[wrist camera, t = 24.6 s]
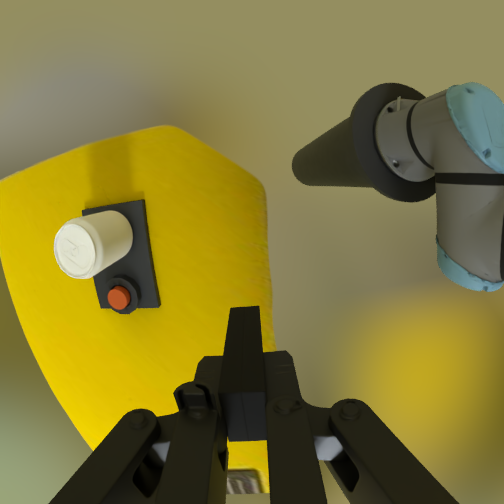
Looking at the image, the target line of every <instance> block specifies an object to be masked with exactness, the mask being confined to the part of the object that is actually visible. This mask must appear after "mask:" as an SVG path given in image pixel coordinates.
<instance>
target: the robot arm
mask: <svg viewBox="0 0 504 504" xmlns="http://www.w3.org/2000/svg"><path fill="white" fill-rule="evenodd" d="M400 98H401V96H399V97H398V99H397V100H394V101H392V102H390V103H388V104H386V105H385V106H383V107H382V108H381V109H380V110H379V112H378V113H377V115H376V117H375V120H374V124H373V141H374V146H375V149H376V152H377V154H378V156H379V158H380V160H381V162H382V163H383V164H384V166H385V167H386V168H387V169H388V170H389V171H390V172H391V173H392V174H393V175H395V176H396V177H398V178H400V179H402V180H405V181H411V182H420V181H425V180H427V179H429V178H431V177H432V176H434V175H435V185H436V200H437V201H436V203H437V235H436V243H437V261H438V265H439V267H440V268H441V270H442V272H443V274H445V275H446V277H448V278H449V279H450V280H452V281H453V282H455V283H457V284H458V285H461V286H463V287H465V288H468V289H471V290H476V291H481V290H482V289H483V290H485V291H487V292H490V291H495V290H497V289H499V288H500V287H501V286H502V285H503V283H504V104H503V103H502V101H501V100H500V98H499V97H498V96H497V95H496V94H495V93H494V92H493V91H492V90H490V89H489V88H487V87H485V86H484V85H482V84H479V83H474V82H471V83H465V84H462V85H453V86H451V87H449V88H448V89H446V90H444V91H441V92H439V93H436V94H434V95H432V96H429V97H427V98H425V99H423V100H420V101H418V100H409V99H400ZM173 394H174V397H175V400H176V403H177V406H178V408H179V412H176V413H174V414H170V415H165V416H159V417H156V415H155V414H154V413H153V412H152V411H150V410H148V409H134V410H132V411H130V412H128V413H126V414H125V415H124V416H123V417H122V418H121V419H120V421H119V422H118V423H117V424H116V425H115V427H114V428H113V429H112V430H111V431H110V432H109V434H108V435H107V436H106V437H105V438H104V440H103V441H102V442H101V443H100V444H99V445H98V447H97V448H96V449H95V450H94V451H93V452H92V454H91V455H90V456H89V457H88V458H87V460H86V461H85V462H84V463H83V464H82V465H81V467H80V468H79V469H78V470H77V471H76V472H75V474H74V475H73V476H72V477H71V478H70V479H69V481H68V482H67V483H66V484H65V485H64V486H63V488H62V489H61V490H60V491H59V492H58V493H57V495H56V496H55V497H54V498H53V499H52V500H51V501H50V503H49V504H225V503H226V487H227V471H228V455H229V452H228V447H227V436H228V440H229V442H235V441H260V440H267V451H268V468H269V486H270V504H327V499H326V494H325V489H324V485H323V480H322V475H321V471H320V466H319V461H318V460H324V462H325V464H326V465H327V467H328V469H329V470H330V472H331V474H332V475H333V477H334V478H335V480H336V482H337V483H338V485H339V486H340V488H341V490H342V491H343V493H344V494H345V496H346V498H347V499H348V500H349V502H350V504H459V503H458V502H457V501H456V500H455V499H454V498H453V497H452V496H451V495H450V494H449V493H448V491H447V490H446V489H445V488H444V487H443V486H442V485H441V484H440V483H439V482H438V481H437V480H436V479H435V478H434V477H433V476H432V475H431V473H430V472H429V471H428V470H427V469H426V468H425V467H424V466H423V465H422V464H421V463H420V462H419V461H418V460H417V459H416V457H415V456H414V455H413V454H412V453H411V452H410V451H409V450H408V449H407V448H406V447H405V446H404V445H403V443H402V442H401V441H400V440H399V439H398V438H397V437H396V436H395V435H394V434H393V433H392V432H391V430H390V429H389V428H388V427H387V426H386V425H385V424H384V423H383V422H382V421H381V419H380V418H379V417H378V416H377V415H376V414H375V413H374V412H373V411H372V410H371V408H370V407H369V406H368V405H366V404H365V403H364V402H363V401H360V400H357V399H344V400H340V401H338V402H337V403H335V404H334V405H333V406H332V407H331V408H320V407H315V406H312V405H310V404H308V403H306V402H305V401H304V400H303V399H302V397H301V393H300V389H299V385H298V380H297V376H296V372H295V367H294V363H293V358H292V356H291V355H290V354H289V353H288V352H287V351H275V352H263V347H262V334H261V321H260V309H259V306H249V307H235V308H230V314H229V320H228V327H227V333H226V340H225V347H224V353H223V356H204V358H203V359H202V360H201V361H200V362H199V363H198V366H197V370H196V373H195V379H194V381H192V382H187V383H184V384H182V385H180V386H179V387H177V388H176V390H175V391H174V393H173Z"/></svg>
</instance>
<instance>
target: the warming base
mask: <svg viewBox="0 0 504 504" xmlns="http://www.w3.org/2000/svg"><path fill="white" fill-rule="evenodd" d="M104 211H116V212H119V213H121V214H122V215H123V216H124V217H125V218H126V219H127V220H128V222H129V223H130V225H131V228H132V233H133V241H132V246H131V248H130V250H129V252H128V253H127V254H126V255H125V256H124V257H122V258H121V259H119V260H117V261H116V262H114V263H113V264H111V265H110V266H108V267H106V268H105V269H103V270H102V271H100V272H99V273H97V274H96V275H94V276H93V278H94V283H95V287H96V291H97V295H98V299H99V303H100V307H101V308H111V309H112V310H114V311H116V312H118V313H120V314H130V313H131V312H133V311H134V310H135V309H136V308H159V307H160V305H161V303H160V298H159V293H158V288H157V283H156V277H155V272H154V266H153V260H152V254H151V247H150V240H149V233H148V226H147V218H146V209H145V200H138V201H132V202H125V203H119V204H113V205H107V206H102V207H96V208H90V209H85V210H82V216H87V215H91V214H95V213H100V212H104ZM116 286H123V287H125V288H126V289H127V290H128V292H129V293H130V302H129V303H128V305H127V306H126V307H125V308H123V309H121V310H118V309H115V308H113V307H112V306H111V305H110V303H109V301H108V293H109V292H110V291H111V290H112V289H113V288H114V287H116Z"/></svg>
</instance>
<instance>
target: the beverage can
mask: <svg viewBox="0 0 504 504" xmlns="http://www.w3.org/2000/svg"><path fill="white" fill-rule="evenodd" d="M132 241H133V233H132V228H131V225H130V223H129V222H128V220H127V219H126V218H125V217H124V216H123V215H122V214H121V213H119V212H116V211H104V212H100V213H95V214H91V215H87V216H83V217H79V218H75V219H71V220H69V221H67V222H66V223H65V224H64V225H63V226H62V228H61V229H60V230H59V231H58V233H57V235H56V237H55V241H54V253H55V257H56V260H57V262H58V264H59V266H60V268H61V269H62V270H63V271H64V272H65V273H66V274H67V275H69V276H70V277H73V278H81V279H86V278H90V277H92V276H94V275H96V274H97V273H99V272H100V271H102V270H103V269H105V268H106V267H108V266H110V265H111V264H113V263H114V262H116V261H117V260H119V259H121V258H122V257H124V256H125V255H126V254H127V253H128V252H129V250H130V248H131V246H132Z"/></svg>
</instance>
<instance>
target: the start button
mask: <svg viewBox="0 0 504 504" xmlns="http://www.w3.org/2000/svg"><path fill="white" fill-rule="evenodd" d="M108 301H109V303H110V305H111V306H112V307H113V308H115V309H118V310H121V309H123V308H125V307H126V306H127V305H128V303H129V302H130V293H129V292H128V290H127V289H126V288H125V287H123V286H116V287H114V288H113V289H112V290H111V291H110V292H109V293H108Z"/></svg>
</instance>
